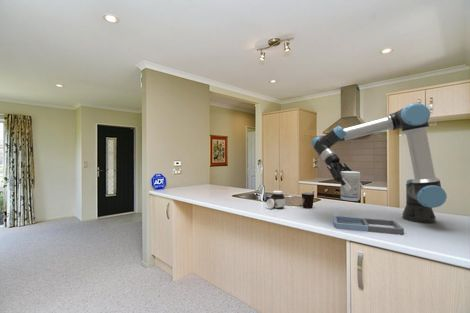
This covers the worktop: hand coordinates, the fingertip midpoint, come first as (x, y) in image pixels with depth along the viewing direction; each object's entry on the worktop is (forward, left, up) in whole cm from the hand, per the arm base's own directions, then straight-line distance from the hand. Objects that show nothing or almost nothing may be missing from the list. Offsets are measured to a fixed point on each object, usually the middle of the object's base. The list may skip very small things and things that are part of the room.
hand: (355, 189), depth 124 cm
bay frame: (-5, -2, -20) cm, 20 cm away
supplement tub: (+2, -2, -6) cm, 7 cm away
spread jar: (+47, -28, -20) cm, 58 cm away
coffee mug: (+26, -39, -20) cm, 51 cm away
